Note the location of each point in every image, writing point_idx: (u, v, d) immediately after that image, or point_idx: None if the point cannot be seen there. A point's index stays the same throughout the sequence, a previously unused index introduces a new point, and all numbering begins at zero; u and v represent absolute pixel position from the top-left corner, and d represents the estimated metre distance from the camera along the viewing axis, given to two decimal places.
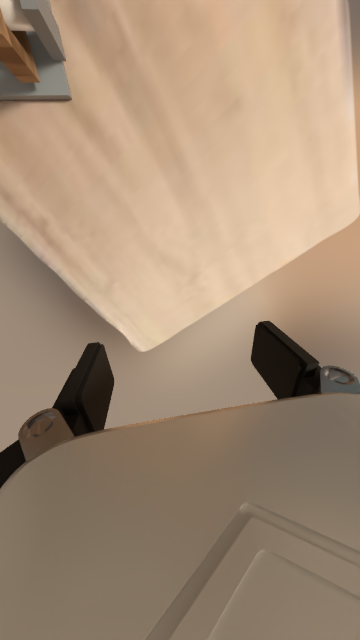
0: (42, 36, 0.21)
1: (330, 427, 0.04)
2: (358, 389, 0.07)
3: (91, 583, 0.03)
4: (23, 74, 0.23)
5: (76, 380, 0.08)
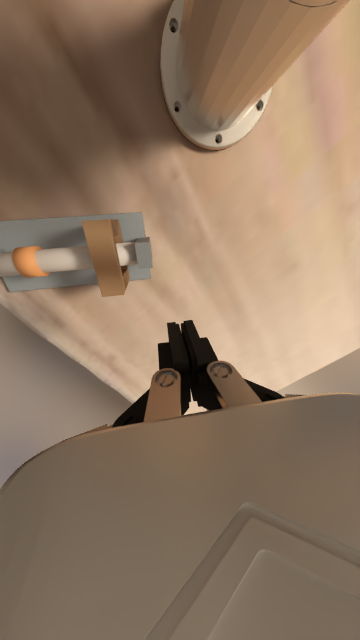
0: None
1: (330, 427, 0.04)
2: (237, 374, 0.08)
3: (91, 583, 0.03)
4: None
5: (178, 348, 0.09)
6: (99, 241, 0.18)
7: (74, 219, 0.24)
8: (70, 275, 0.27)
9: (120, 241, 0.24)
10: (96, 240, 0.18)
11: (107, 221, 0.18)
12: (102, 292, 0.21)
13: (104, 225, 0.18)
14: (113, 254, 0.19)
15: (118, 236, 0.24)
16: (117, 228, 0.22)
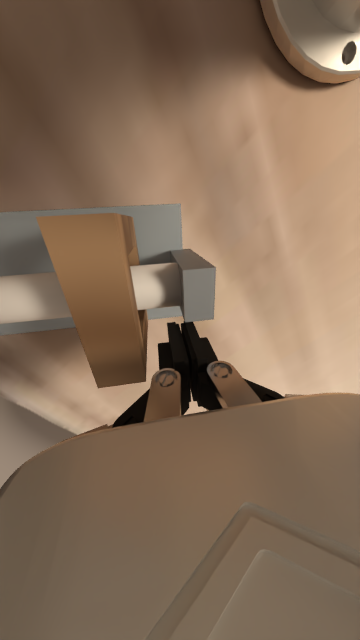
0: None
1: (330, 427, 0.04)
2: (237, 374, 0.08)
3: (91, 583, 0.03)
4: None
5: (178, 348, 0.09)
6: (90, 273, 0.07)
7: None
8: None
9: (135, 259, 0.12)
10: (81, 269, 0.07)
11: (113, 219, 0.06)
12: (98, 380, 0.09)
13: (105, 230, 0.06)
14: (127, 303, 0.08)
15: (131, 249, 0.12)
16: (132, 235, 0.11)
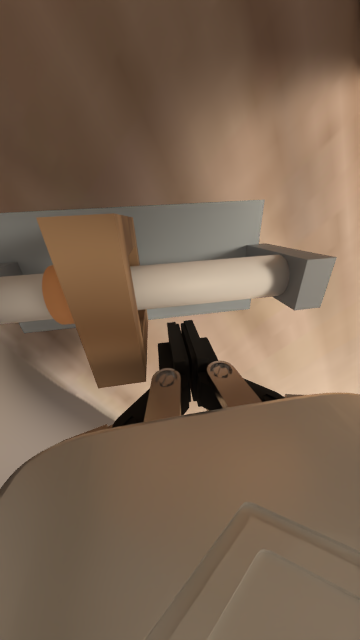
0: None
1: (330, 427, 0.04)
2: (237, 374, 0.08)
3: (91, 583, 0.03)
4: None
5: (178, 348, 0.09)
6: (90, 273, 0.07)
7: (148, 211, 0.13)
8: None
9: (135, 259, 0.13)
10: (82, 269, 0.07)
11: (113, 219, 0.06)
12: (98, 380, 0.09)
13: (105, 230, 0.06)
14: (127, 303, 0.08)
15: (132, 250, 0.12)
16: (132, 235, 0.11)
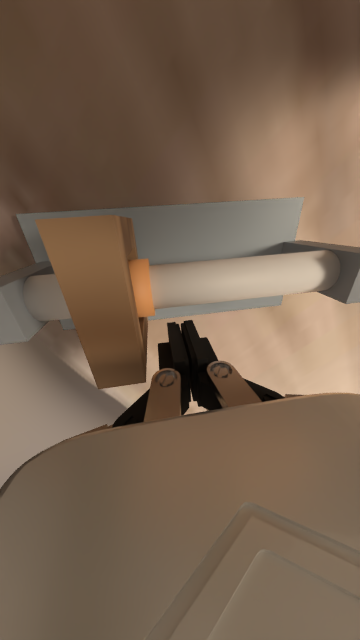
0: None
1: (330, 427, 0.04)
2: (237, 374, 0.08)
3: (91, 583, 0.03)
4: None
5: (178, 348, 0.09)
6: (89, 275, 0.07)
7: (192, 209, 0.14)
8: None
9: None
10: (81, 271, 0.07)
11: (112, 221, 0.06)
12: (98, 381, 0.09)
13: (103, 232, 0.06)
14: (126, 304, 0.08)
15: (131, 251, 0.12)
16: (131, 236, 0.11)
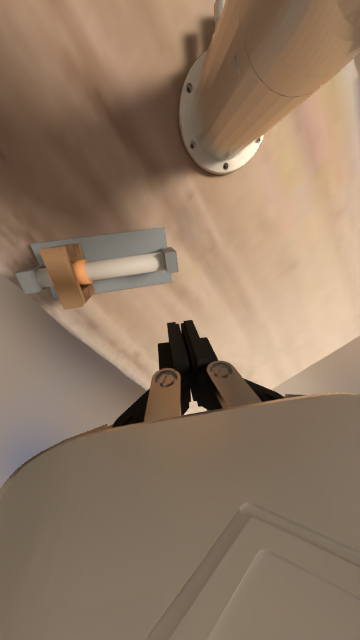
0: None
1: (330, 427, 0.04)
2: (237, 374, 0.08)
3: (91, 583, 0.03)
4: None
5: (178, 348, 0.09)
6: (55, 264, 0.23)
7: (110, 236, 0.29)
8: (104, 282, 0.32)
9: None
10: (52, 263, 0.22)
11: (60, 248, 0.22)
12: (63, 305, 0.25)
13: (58, 251, 0.22)
14: (68, 274, 0.23)
15: (79, 257, 0.28)
16: (76, 251, 0.26)
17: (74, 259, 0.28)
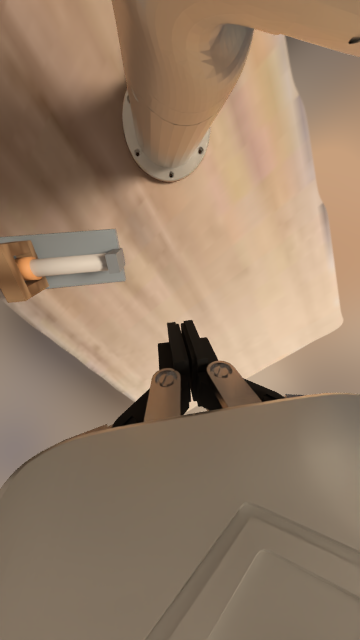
0: None
1: (330, 427, 0.04)
2: (237, 374, 0.08)
3: (91, 583, 0.03)
4: None
5: (178, 348, 0.09)
6: None
7: (62, 235, 0.31)
8: (59, 278, 0.34)
9: None
10: None
11: None
12: (7, 299, 0.27)
13: None
14: (9, 270, 0.25)
15: (29, 253, 0.30)
16: (24, 248, 0.28)
17: (24, 255, 0.30)
